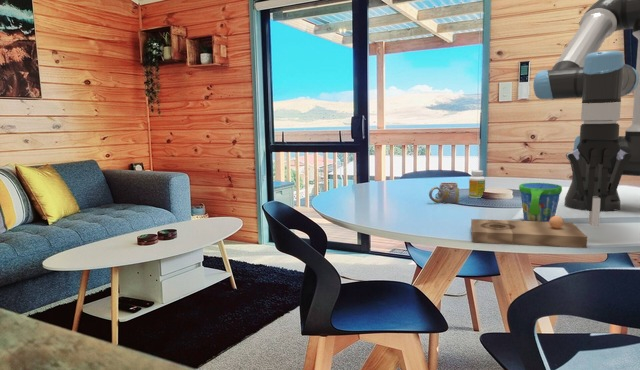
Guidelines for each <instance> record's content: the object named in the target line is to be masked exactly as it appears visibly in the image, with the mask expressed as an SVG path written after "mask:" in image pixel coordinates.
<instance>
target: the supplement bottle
mask: <svg viewBox="0 0 640 370" xmlns="http://www.w3.org/2000/svg"><path fill="white" fill-rule="evenodd" d="M470 172H471V174H470V175H471V176H470V177H469V178H468V179H469V181H468V182H469V183H468V185H469V187H468V190H469V191H468V197H469V198H471V199H477V198H481V197H482V195H483V192H484V191H486V178H485V176H483V175H484V170H477V169H476V170H475V169H474V170H471V171H470ZM481 199H482V198H481Z"/></svg>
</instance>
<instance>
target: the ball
mask: <svg viewBox="0 0 640 370" xmlns="http://www.w3.org/2000/svg"><path fill="white" fill-rule="evenodd" d="M563 222H564V219H563V218H562V217H561V216H559V215H555V216H553V217H551V218H550V220H549V224H550V226H551V227H553V228H556V229H557V228H560V227H562V226H563Z"/></svg>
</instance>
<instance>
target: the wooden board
mask: <svg viewBox="0 0 640 370" xmlns="http://www.w3.org/2000/svg"><path fill="white" fill-rule="evenodd" d="M470 223H471V225H470V226H471V227H470V229H471V231H472V232H471V238H472V243H482V244H484V243H485V244H504V245H505V244H506V245H519V246H520V245H524V246H525V245H526V246H542V247H543V246H544V247H561V248H585V249H587V247H588V236H587V235H586V234H585V233H584V232H583V231H582V230H581V229H580V228H579V227H578V226H577V225H576V224H575V223H574V222H571V221H570V222H566V221H563V226H562V227H560V228H557V229H556V228H553V227H551V226H550V224H549V222H542V221H525V220H510V219H509V220H508V219H507V220H506V219H504V220H503V219H485V218H484V219H483V218H482V219H481V218H471V222H470Z"/></svg>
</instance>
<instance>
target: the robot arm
mask: <svg viewBox="0 0 640 370" xmlns="http://www.w3.org/2000/svg"><path fill="white" fill-rule="evenodd" d="M623 30H632V35H633V37H635V38H636V39H637V52H636V53H637V55H636V67H635V68H634V67H633V66H631V65H629V64H626V62H625V59H624V58H625V55H624V52H623V51H620V50H603V51H600V48H601V47H602V45H603V43H604V42H605V40H606V39H607V38H609V37H610V36H612V35H613V34H614V32H618V31H623ZM532 88H533V92H534V96H536V98H537V99H539V100H551V101H554V100H563V99H580V98H581V113H580V121H581V122H583V123H582V124H581V125H580V126H579V127H580V129H579V135H578V136H576V137H575V138H574V142H573V149H572V152H566V154H565V157H566V159H567V160H568V161H569V163H570V167H571V172H572V173H571V174H572V175H571V183H570V186H569V188H568V190H567V192H566V194H565V197H564V205H565V206H566V207H568V208H571V209H572V208H573V209H577V210H584V211H587V212H588V224H589V225H590V226H591V227H599V226H600V217H601V216H600V215H601V213H600V212H606V211H607V212H608V211H616V210H619V209H621V198H620V194H619V192H618V187H619V185H620V182H621V178H622V176H631V177H640V0H597V1H596V2H594V3H593V4H591V6H590V7H589V8H588V9H587V10H586V11H585V12H584V13H583V15H582V17H581V18H580V20H579V28H578V29H577V31H576V32H575V34H574V35H573V37H572V38H571V40H570V41H569V42H568V44H567V46H565V49H564V50H563V52H562V53H561V55H560V56H559V58H558V60H557V61H556V62H555V63H554V65H553V66H552V68H551V69H544V70H539V71H538V72H537V73H536V74H535V76H534V80H533V87H532ZM633 92H634V95H633V106H632V107H633V108H632V110H633V111H632V122H631V125H630V126H629V127H628V128H626V129H625V132H624V133H625V134H624V135H620V124H619V123H617V122H618V121H620V120H621V107H622V105H621V103H622V98H623V97H624V96H627V95H630V94H631V93H633ZM619 135H620V136H619Z"/></svg>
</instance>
